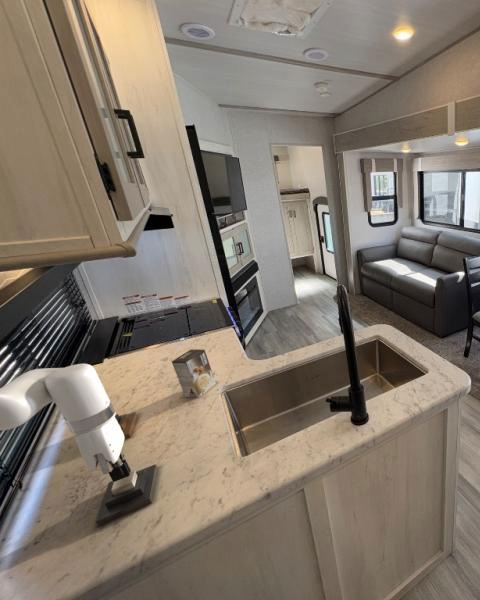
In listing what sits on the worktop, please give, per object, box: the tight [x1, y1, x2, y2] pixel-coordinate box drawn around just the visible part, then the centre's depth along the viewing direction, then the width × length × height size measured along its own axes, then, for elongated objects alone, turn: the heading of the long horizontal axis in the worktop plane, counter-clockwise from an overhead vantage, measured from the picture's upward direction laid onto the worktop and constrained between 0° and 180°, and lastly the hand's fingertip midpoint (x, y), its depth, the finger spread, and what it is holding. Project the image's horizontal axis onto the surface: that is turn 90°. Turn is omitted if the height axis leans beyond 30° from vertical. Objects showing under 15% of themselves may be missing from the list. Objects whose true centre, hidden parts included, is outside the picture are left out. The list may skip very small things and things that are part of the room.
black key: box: [115, 413, 120, 423], centre depth 98 cm, size 4×4×2 cm
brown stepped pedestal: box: [119, 411, 138, 441], centre depth 99 cm, size 10×12×4 cm
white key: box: [111, 470, 138, 496], centre depth 76 cm, size 4×4×2 cm
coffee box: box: [171, 348, 217, 398], centre depth 116 cm, size 9×6×16 cm
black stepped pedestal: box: [95, 463, 159, 527], centre depth 77 cm, size 10×12×4 cm
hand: (122, 476), depth 75 cm, fingers closed
